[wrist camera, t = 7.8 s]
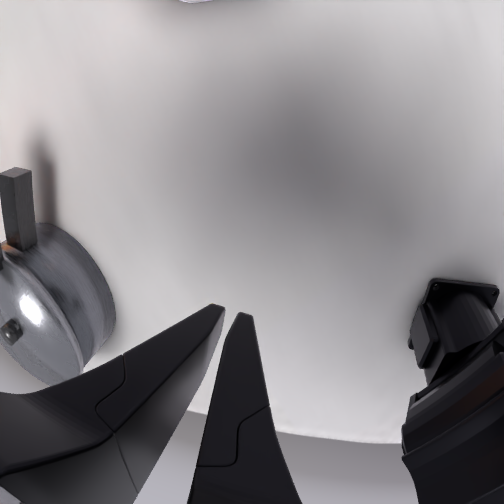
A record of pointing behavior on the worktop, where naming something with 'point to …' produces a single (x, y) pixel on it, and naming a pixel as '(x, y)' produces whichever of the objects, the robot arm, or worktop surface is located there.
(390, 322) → the worktop surface
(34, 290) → the cooker lid
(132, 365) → the robot arm
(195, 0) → the foam cup
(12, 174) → the cooker pot
